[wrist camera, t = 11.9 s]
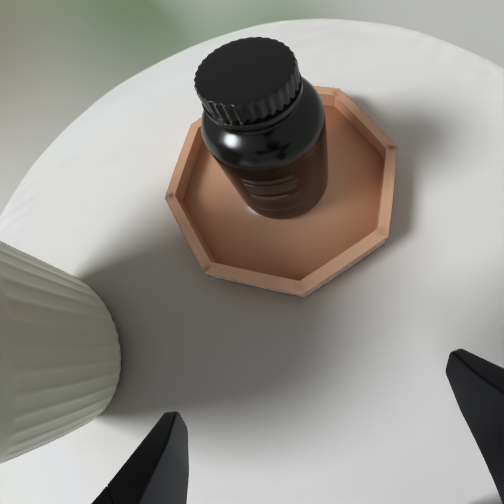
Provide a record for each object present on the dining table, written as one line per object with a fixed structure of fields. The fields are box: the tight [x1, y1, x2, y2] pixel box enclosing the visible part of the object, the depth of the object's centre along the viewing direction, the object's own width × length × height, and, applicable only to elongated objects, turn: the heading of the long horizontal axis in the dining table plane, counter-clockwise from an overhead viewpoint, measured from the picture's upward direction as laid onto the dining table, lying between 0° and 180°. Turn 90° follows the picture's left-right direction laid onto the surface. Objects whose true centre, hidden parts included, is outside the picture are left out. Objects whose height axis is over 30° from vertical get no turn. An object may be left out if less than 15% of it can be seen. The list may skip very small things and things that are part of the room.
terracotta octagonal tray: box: [165, 86, 397, 298], centre depth 24 cm, size 17×17×2 cm
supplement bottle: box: [194, 37, 328, 220], centre depth 18 cm, size 7×7×12 cm
